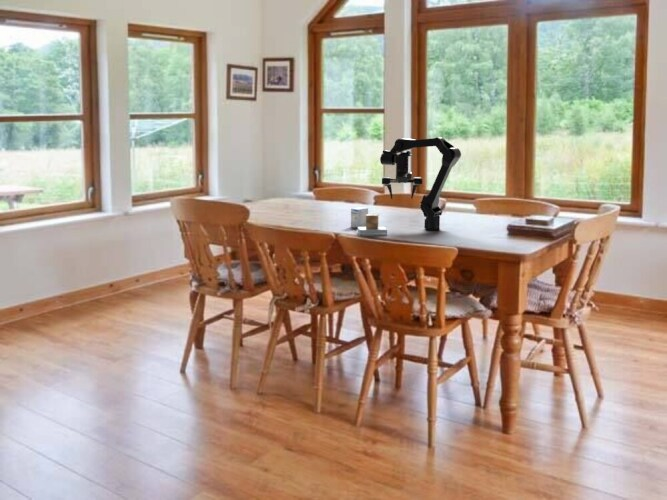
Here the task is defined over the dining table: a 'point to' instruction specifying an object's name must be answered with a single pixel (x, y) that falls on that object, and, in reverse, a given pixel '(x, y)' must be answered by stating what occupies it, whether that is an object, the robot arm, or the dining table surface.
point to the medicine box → (358, 217)
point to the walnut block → (372, 221)
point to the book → (372, 231)
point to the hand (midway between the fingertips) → (401, 199)
